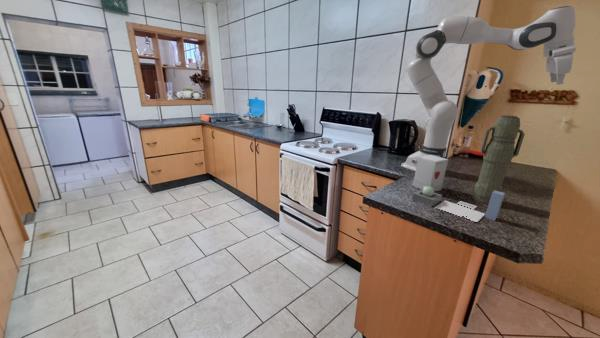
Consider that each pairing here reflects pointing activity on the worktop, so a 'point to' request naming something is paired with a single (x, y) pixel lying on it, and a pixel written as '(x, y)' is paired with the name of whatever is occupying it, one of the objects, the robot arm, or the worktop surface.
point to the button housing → (427, 198)
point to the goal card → (467, 205)
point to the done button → (428, 191)
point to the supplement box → (430, 172)
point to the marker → (494, 205)
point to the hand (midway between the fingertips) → (556, 82)
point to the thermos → (497, 156)
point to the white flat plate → (460, 211)
